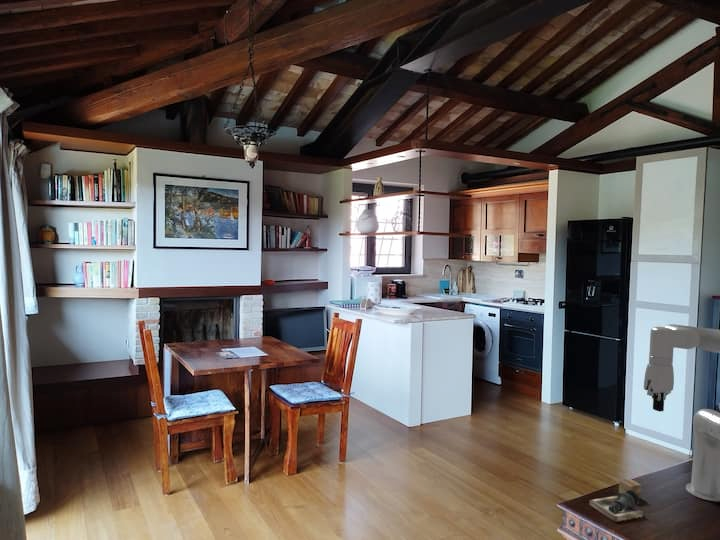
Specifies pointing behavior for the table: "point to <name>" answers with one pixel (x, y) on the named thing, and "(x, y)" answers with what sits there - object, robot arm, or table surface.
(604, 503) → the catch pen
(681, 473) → the table surface
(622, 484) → the oak block
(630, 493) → the grey chess piece
